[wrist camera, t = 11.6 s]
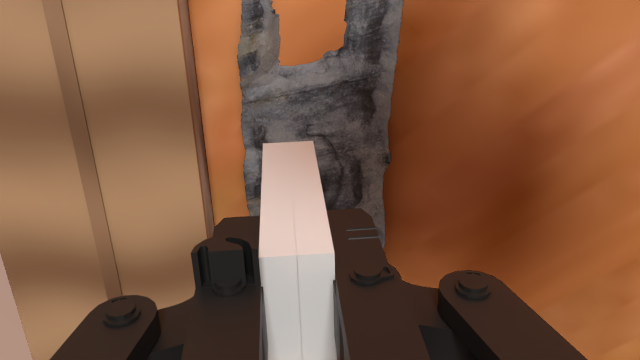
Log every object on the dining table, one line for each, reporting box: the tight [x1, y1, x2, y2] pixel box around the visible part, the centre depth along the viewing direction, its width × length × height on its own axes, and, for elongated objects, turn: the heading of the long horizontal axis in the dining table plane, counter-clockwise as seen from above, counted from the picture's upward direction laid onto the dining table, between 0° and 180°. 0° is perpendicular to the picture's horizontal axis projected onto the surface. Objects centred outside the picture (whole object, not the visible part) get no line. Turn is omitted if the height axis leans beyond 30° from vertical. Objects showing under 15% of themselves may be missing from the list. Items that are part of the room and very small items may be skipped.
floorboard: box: [0, 0, 215, 360], centre depth 22 cm, size 24×8×2 cm, turn 2°
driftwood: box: [237, 0, 403, 250], centre depth 24 cm, size 21×7×2 cm, turn 178°
